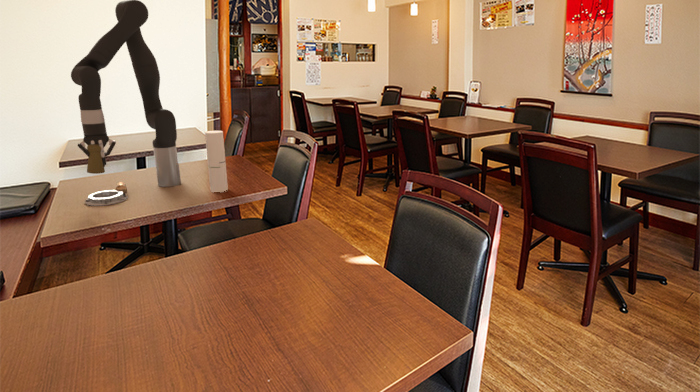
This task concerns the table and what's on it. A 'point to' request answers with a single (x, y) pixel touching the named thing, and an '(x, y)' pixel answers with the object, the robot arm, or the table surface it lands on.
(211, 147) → the beige rectangular tower
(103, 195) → the flange seat
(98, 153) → the cork
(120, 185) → the pipe stub
